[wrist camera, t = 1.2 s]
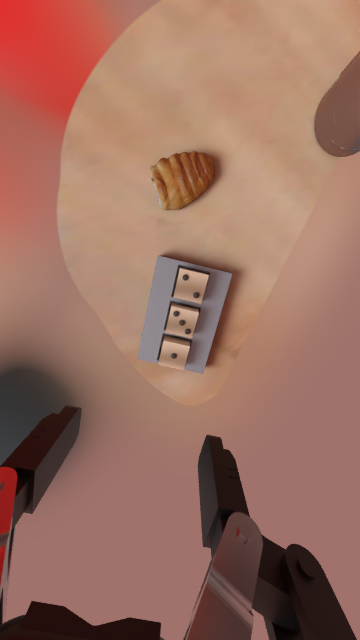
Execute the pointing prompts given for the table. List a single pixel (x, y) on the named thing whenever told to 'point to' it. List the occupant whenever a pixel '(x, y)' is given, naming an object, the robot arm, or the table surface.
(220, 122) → the table surface
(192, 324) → the button
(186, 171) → the pastry
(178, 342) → the button
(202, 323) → the panel
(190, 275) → the button
